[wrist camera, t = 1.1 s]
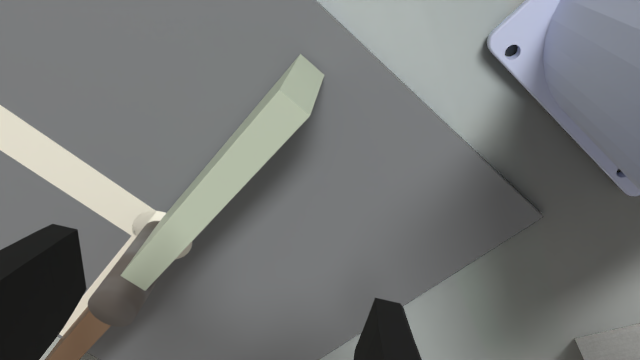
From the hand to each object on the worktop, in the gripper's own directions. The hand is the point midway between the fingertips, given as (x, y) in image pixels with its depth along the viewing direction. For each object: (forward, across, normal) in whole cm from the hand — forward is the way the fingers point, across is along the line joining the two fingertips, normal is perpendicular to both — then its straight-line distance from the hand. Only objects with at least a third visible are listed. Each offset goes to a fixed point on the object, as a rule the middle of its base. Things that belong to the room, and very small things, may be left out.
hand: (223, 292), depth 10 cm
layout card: (+10, +5, +7) cm, 13 cm away
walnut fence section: (+9, +8, +12) cm, 18 cm away
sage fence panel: (+9, +2, +2) cm, 9 cm away
